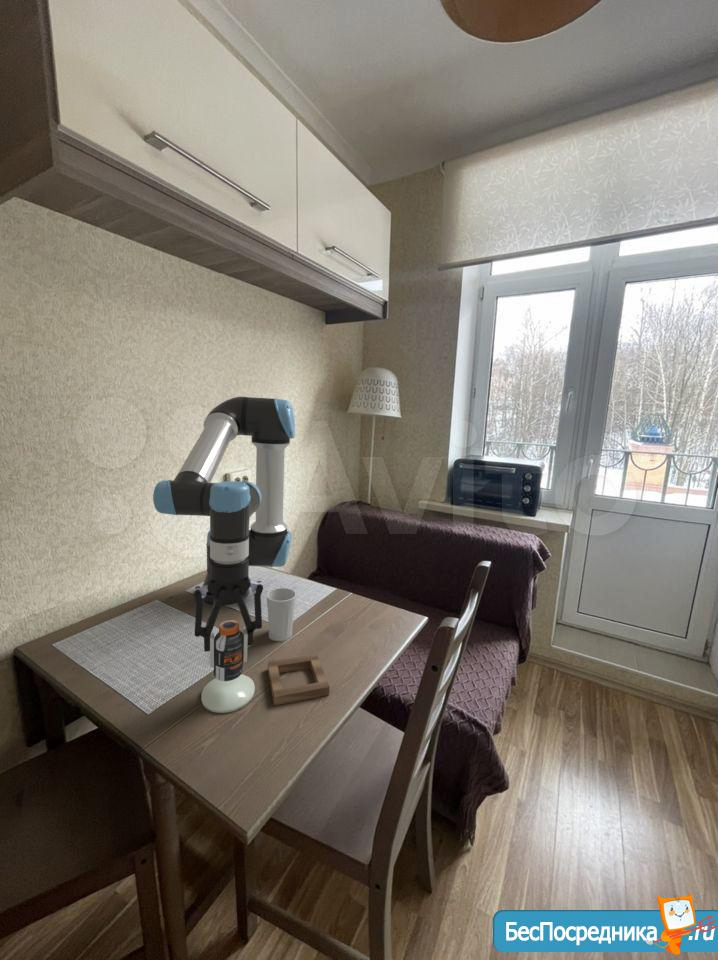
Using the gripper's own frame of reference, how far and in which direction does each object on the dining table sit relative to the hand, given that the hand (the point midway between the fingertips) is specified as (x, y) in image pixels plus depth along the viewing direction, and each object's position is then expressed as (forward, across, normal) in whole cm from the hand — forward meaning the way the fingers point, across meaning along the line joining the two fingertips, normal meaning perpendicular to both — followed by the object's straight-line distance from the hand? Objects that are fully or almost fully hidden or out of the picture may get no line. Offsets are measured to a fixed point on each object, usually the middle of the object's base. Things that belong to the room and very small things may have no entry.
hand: (228, 660), depth 82 cm
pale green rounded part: (+8, 0, 0) cm, 8 cm away
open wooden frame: (+8, +15, 0) cm, 17 cm away
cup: (+8, +14, +20) cm, 26 cm away
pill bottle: (+3, 0, 0) cm, 3 cm away
